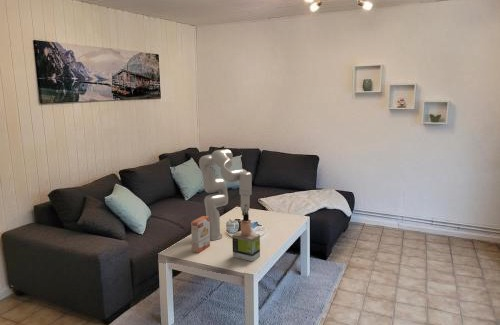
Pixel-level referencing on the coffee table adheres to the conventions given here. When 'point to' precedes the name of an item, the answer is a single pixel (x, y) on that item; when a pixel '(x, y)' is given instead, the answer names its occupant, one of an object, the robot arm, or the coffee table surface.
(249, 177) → the robot arm
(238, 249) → the tea box
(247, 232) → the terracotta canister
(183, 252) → the coffee table surface
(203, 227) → the cracker box
